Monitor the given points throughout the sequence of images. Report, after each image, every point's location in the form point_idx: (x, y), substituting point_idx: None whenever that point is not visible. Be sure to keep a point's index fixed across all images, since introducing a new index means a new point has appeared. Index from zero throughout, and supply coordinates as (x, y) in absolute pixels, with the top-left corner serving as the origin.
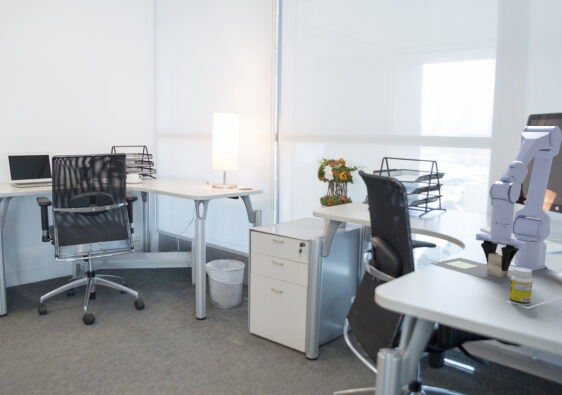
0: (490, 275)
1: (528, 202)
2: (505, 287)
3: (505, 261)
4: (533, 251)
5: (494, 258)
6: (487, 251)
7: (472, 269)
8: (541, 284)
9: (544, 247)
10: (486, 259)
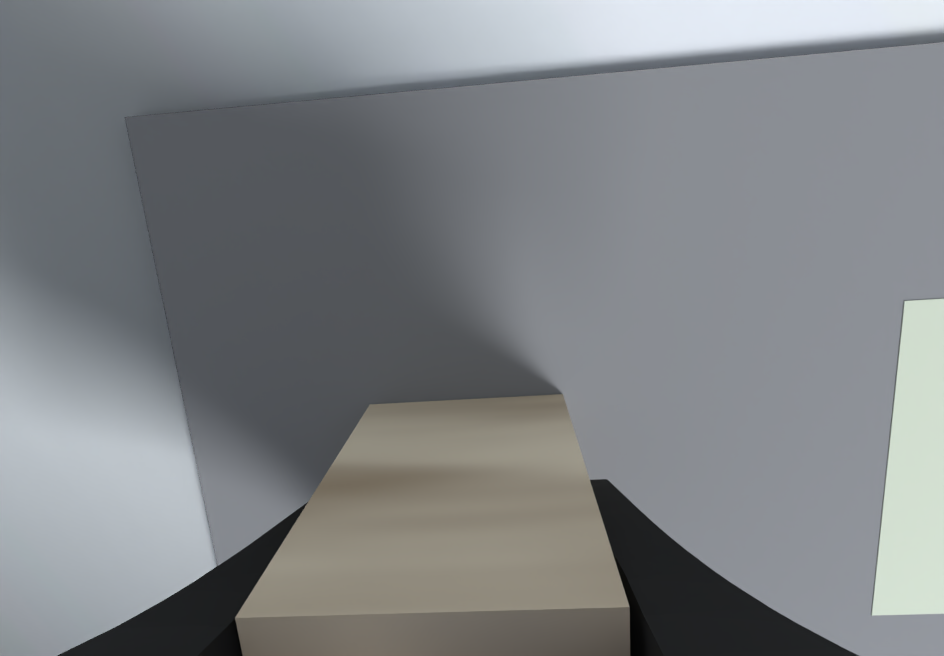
0: (474, 353)
1: None
2: (26, 72)
3: (205, 577)
4: None
5: (446, 550)
6: (694, 650)
7: (812, 391)
8: (18, 606)
9: None
10: (661, 532)
